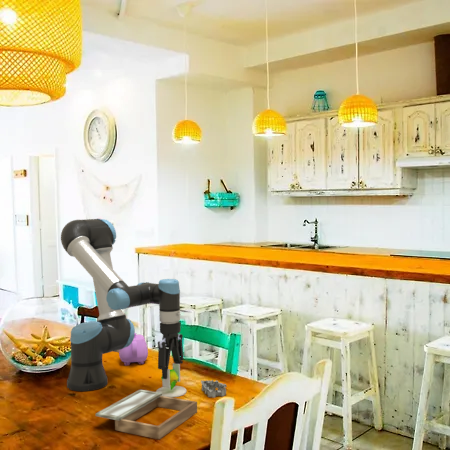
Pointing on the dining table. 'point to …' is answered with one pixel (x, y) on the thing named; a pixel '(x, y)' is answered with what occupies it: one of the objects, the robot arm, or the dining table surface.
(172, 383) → the green faceted lump
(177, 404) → the cold frame
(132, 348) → the piggy bank
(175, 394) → the saucer
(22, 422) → the dining table surface
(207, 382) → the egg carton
